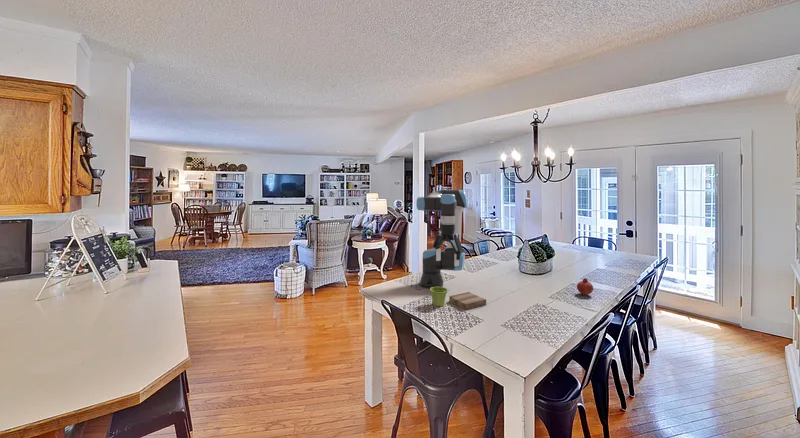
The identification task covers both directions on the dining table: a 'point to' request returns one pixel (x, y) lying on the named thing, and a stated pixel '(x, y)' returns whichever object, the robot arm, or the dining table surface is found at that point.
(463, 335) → the dining table surface
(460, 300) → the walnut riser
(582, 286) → the fruit
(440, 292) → the plant pot
